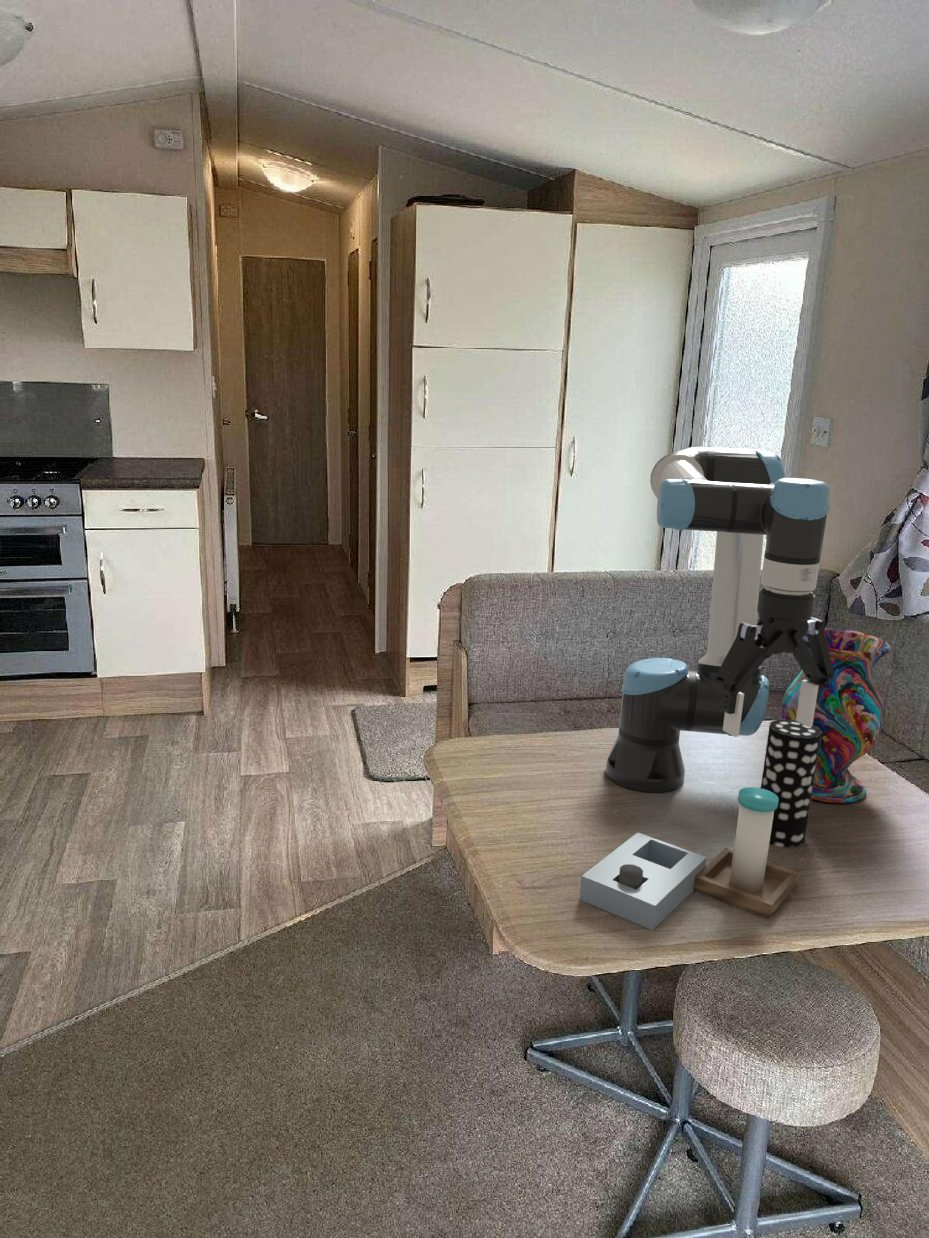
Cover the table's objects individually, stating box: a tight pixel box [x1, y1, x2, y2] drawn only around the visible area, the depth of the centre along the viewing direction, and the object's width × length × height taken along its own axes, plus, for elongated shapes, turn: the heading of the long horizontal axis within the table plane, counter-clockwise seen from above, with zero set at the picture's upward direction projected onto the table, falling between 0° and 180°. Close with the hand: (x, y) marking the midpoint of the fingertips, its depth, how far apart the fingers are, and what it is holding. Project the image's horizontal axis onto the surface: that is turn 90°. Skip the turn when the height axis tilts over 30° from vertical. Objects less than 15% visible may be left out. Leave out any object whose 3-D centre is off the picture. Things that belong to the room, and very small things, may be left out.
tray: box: [693, 846, 800, 920], centre depth 146 cm, size 12×12×2 cm
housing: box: [579, 831, 708, 931], centre depth 144 cm, size 12×18×4 cm, turn 143°
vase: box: [780, 627, 891, 804], centre depth 181 cm, size 18×18×30 cm
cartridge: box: [729, 786, 779, 894], centre depth 144 cm, size 6×6×15 cm
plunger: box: [618, 864, 643, 890], centre depth 140 cm, size 3×3×4 cm
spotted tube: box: [760, 718, 822, 848], centre depth 161 cm, size 8×8×20 cm
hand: (767, 728), depth 139 cm, fingers open, 13 cm apart
